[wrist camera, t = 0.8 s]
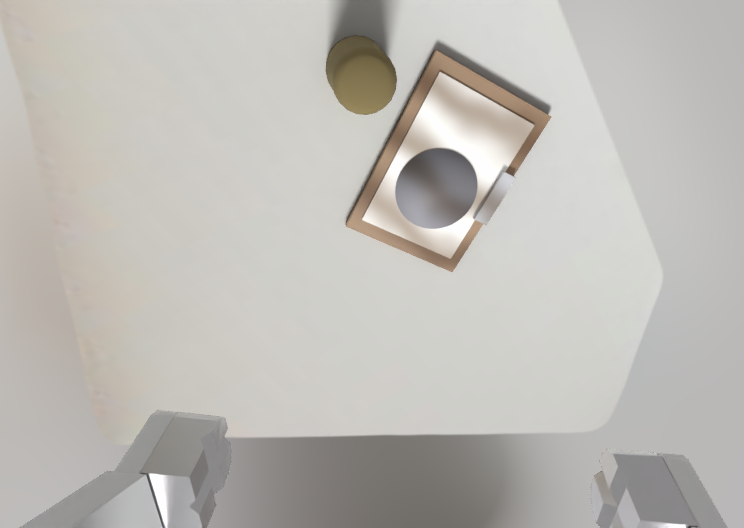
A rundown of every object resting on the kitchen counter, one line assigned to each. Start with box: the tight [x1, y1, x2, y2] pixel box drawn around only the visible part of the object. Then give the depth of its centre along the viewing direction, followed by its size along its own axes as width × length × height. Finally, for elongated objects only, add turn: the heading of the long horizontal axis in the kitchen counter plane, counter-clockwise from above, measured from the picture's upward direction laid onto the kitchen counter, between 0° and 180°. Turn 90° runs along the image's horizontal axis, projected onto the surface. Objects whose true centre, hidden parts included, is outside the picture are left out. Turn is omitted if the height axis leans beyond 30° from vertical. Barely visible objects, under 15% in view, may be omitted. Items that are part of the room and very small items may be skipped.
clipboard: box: [346, 50, 551, 272], centre depth 52 cm, size 20×14×2 cm
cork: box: [326, 35, 397, 115], centre depth 43 cm, size 6×6×11 cm
